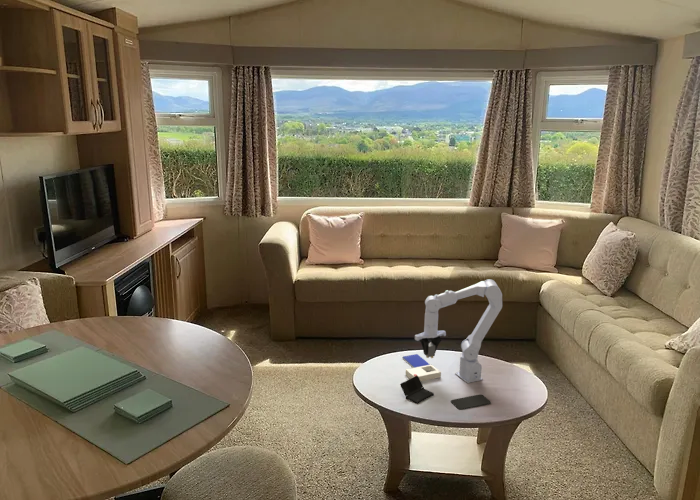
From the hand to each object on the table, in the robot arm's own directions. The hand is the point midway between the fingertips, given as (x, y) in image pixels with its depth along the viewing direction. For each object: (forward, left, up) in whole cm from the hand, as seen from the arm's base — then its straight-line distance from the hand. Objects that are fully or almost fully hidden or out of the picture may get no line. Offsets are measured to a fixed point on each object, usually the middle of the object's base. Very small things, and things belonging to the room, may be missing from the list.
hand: (429, 353), depth 236 cm
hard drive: (+12, -1, -11) cm, 16 cm away
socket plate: (-1, +3, -10) cm, 10 cm away
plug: (0, 0, -2) cm, 2 cm away
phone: (-27, -3, -11) cm, 29 cm away
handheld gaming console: (-14, +14, -10) cm, 22 cm away
